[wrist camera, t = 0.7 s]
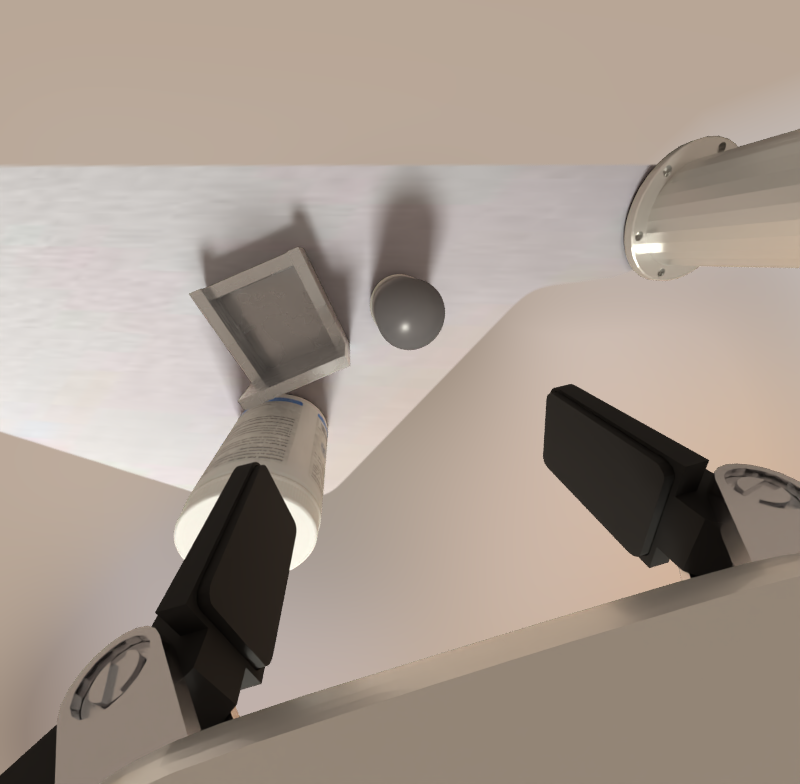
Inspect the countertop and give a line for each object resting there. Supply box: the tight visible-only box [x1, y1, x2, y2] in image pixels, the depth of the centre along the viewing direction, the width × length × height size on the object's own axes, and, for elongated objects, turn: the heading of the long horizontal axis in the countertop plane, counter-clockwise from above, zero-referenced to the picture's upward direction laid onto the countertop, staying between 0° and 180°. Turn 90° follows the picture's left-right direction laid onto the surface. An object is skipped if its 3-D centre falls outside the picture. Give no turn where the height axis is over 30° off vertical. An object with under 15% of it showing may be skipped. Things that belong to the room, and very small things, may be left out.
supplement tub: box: [174, 394, 328, 571], centre depth 26 cm, size 10×10×15 cm
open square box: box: [189, 247, 350, 410], centre depth 25 cm, size 10×10×7 cm
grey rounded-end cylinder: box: [370, 274, 445, 350], centre depth 26 cm, size 6×6×7 cm
